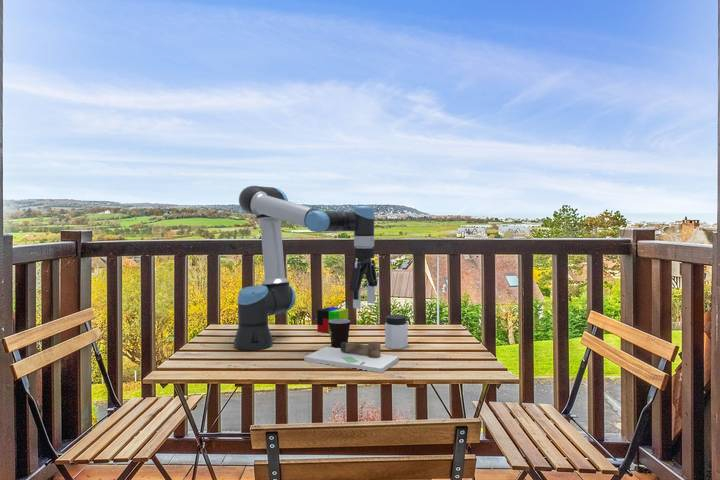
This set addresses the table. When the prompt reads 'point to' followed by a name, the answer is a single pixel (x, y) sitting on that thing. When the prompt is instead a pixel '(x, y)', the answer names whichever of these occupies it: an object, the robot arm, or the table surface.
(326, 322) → the puzzle toy
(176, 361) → the table surface
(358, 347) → the peg pointer
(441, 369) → the table surface
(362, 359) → the board
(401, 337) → the jar
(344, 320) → the coffee mug
